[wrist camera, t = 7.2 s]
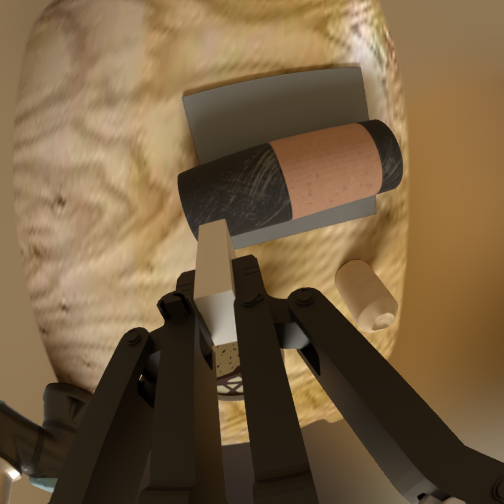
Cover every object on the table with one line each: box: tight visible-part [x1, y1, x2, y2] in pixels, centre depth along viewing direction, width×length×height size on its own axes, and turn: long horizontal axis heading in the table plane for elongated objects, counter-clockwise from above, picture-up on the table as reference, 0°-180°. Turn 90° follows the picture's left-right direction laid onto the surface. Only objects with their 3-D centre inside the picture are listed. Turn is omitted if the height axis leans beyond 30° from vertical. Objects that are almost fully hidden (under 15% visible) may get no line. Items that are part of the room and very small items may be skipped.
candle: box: [335, 260, 398, 332], centre depth 35 cm, size 6×6×10 cm
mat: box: [182, 67, 376, 250], centre depth 30 cm, size 19×18×1 cm
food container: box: [212, 340, 284, 401], centre depth 38 cm, size 12×6×10 cm, turn 123°
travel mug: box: [178, 119, 403, 241], centre depth 27 cm, size 8×8×20 cm
